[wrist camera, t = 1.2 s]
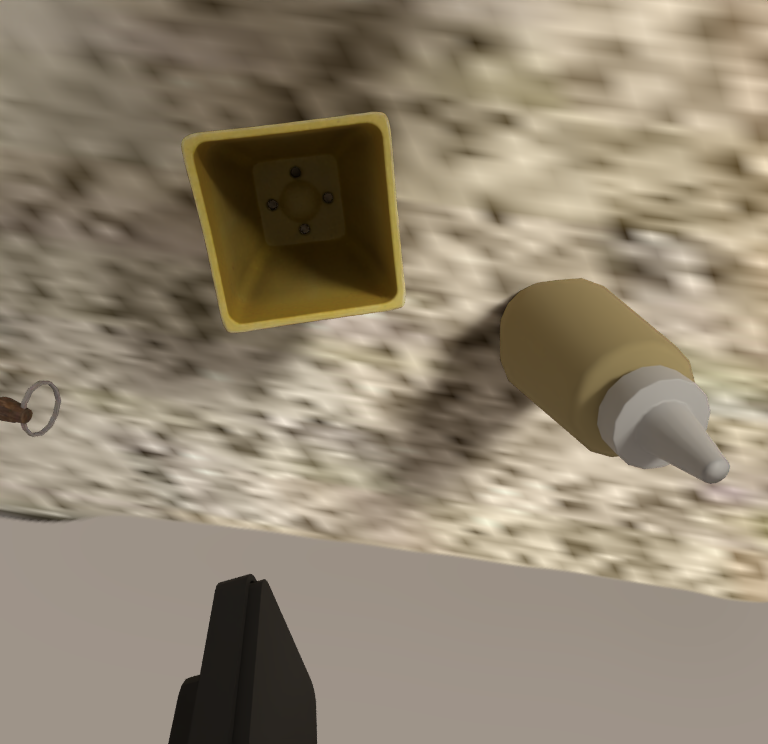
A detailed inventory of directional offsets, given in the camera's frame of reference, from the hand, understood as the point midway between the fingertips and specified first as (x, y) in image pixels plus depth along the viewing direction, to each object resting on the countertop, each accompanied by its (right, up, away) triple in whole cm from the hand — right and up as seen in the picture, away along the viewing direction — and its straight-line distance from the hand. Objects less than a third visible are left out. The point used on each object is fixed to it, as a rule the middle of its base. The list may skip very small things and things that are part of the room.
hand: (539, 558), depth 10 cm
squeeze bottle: (+8, +7, +29) cm, 31 cm away
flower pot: (-8, +13, +24) cm, 28 cm away
